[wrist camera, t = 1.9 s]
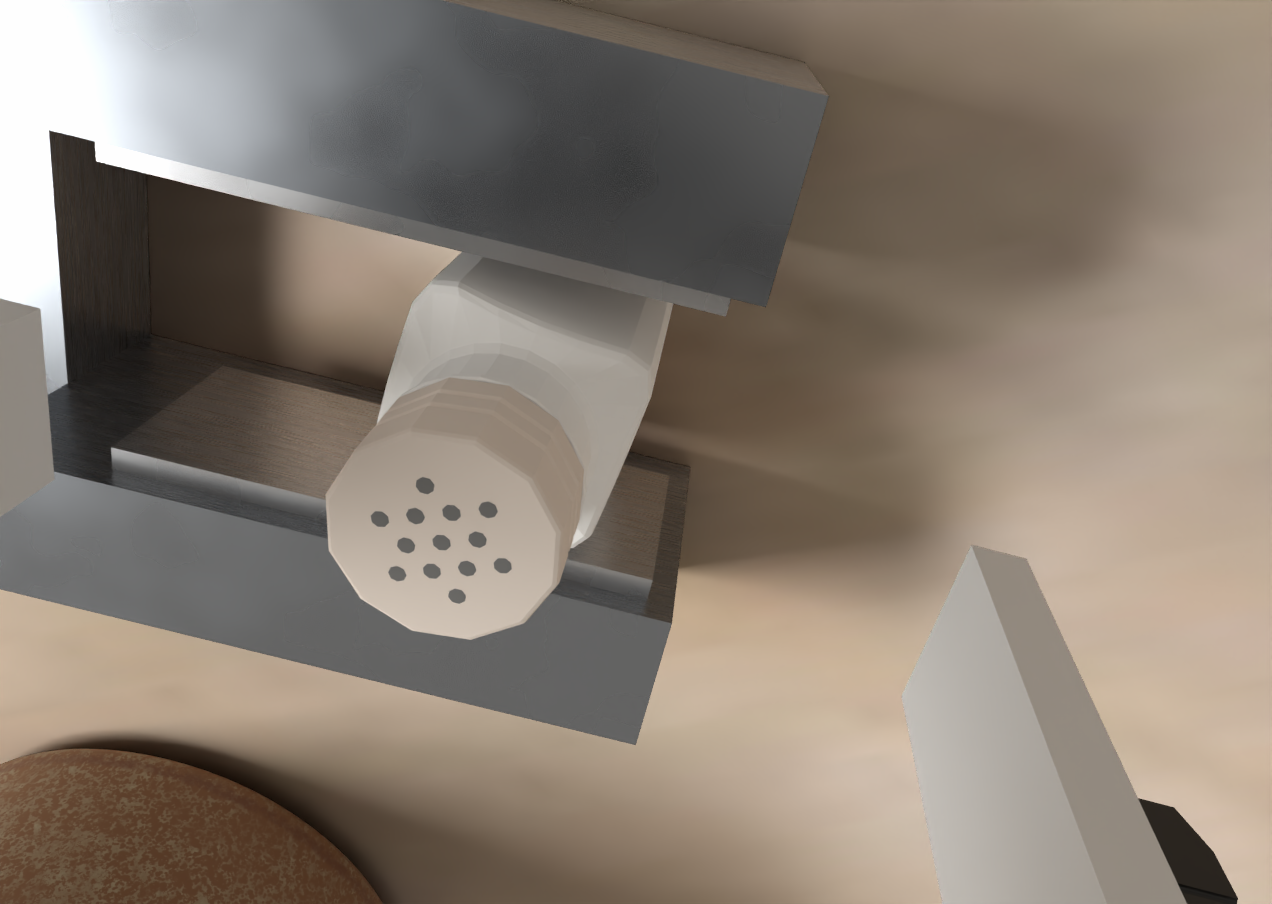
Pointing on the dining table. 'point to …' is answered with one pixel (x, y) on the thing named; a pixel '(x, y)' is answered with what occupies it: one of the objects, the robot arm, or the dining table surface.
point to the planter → (156, 837)
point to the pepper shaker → (493, 444)
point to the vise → (384, 201)
